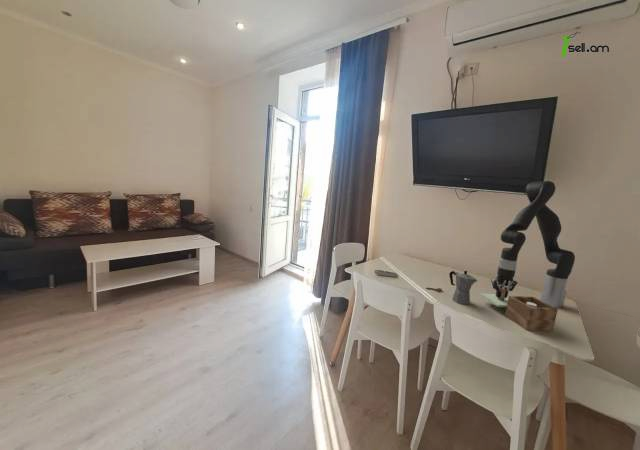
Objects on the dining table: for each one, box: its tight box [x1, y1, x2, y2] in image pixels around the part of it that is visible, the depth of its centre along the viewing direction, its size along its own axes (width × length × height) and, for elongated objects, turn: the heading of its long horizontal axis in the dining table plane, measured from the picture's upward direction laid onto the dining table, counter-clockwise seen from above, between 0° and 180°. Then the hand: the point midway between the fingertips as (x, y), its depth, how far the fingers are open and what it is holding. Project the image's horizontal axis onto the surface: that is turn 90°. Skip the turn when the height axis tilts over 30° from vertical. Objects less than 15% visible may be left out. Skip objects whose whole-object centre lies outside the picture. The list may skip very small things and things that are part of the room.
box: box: [504, 295, 559, 332], centre depth 124 cm, size 13×13×11 cm
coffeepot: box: [448, 270, 478, 306], centre depth 145 cm, size 15×9×18 cm, turn 33°
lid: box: [479, 287, 509, 308], centre depth 140 cm, size 14×14×7 cm
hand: (501, 297), depth 140 cm, fingers closed on lid, 3 cm apart
